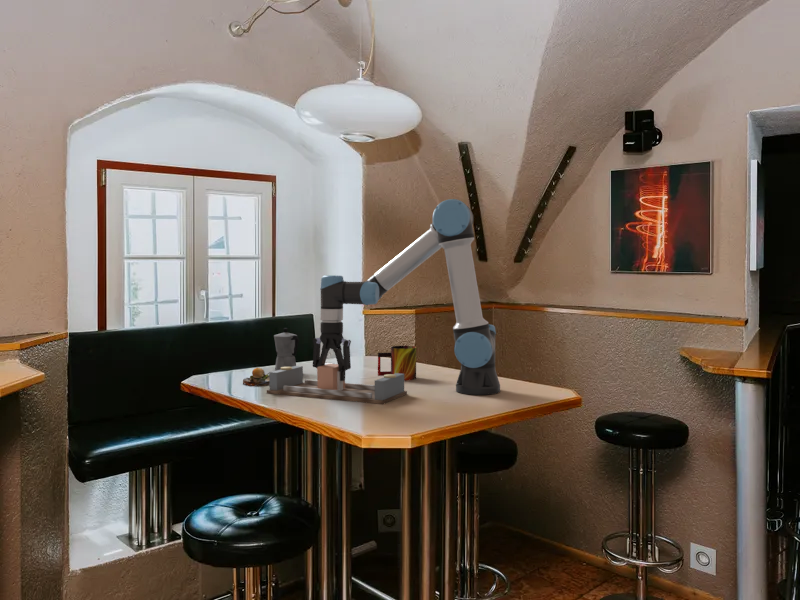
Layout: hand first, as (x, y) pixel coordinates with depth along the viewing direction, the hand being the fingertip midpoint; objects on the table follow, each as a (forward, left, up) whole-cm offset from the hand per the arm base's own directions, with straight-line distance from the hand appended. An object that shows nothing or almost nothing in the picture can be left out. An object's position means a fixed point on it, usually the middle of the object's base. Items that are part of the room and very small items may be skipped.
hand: (331, 389), depth 233 cm
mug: (-9, -36, -2) cm, 37 cm away
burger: (+34, -6, -2) cm, 35 cm away
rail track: (-2, 0, -1) cm, 2 cm away
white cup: (+13, -18, -2) cm, 22 cm away
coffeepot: (+38, -30, -2) cm, 48 cm away
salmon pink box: (0, 0, 0) cm, 0 cm away
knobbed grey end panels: (-2, 0, 0) cm, 2 cm away
